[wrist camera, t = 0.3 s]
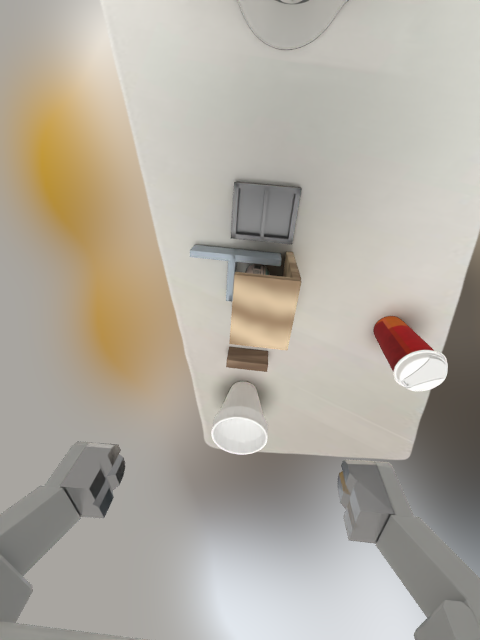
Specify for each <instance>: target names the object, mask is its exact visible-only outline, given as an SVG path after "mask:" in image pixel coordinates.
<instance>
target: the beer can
mask: <svg viewBox="0 0 480 640" xmlns="http://www.w3.org/2000/svg"><path fill="white" fill-rule="evenodd" d="M245 273H252V274H262V275H269V270H268V268H267V267H266V266H265V265H263V264H251V265H250V266H249V267H248V268H247V269H246V272H245Z"/></svg>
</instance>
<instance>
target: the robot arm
mask: <svg viewBox="0 0 480 640" xmlns="http://www.w3.org/2000/svg"><path fill="white" fill-rule="evenodd" d="M237 1H238V3H239V6H240V9H241V11H242V14H243V16H244V18H245V20H246V22H247V24H248V26H249V27H250V29H251V30H252V31H253V33H254V34H255V35H256V36H257V37H258V38H259V39H260V40H262V41H263V42H264V43H266V44H268V45H269V46H272V47H274V48H278V49H295V48H299V47H302V46H304V45H306V44H308V43H310V42H311V41H313V40H314V39H316V38H317V37H318V36H319V35H320V34H321V33H322V32H323V31H324V30H325V29H326V28H327V27H328V26H329V24H330V23H331V22H332V20H333V19H334V17H335V16H336V14H337V13H338V11H339V10H340V8H341V7H342V6H343V5H344V4H345V3H346V2H347V1H348V0H237ZM120 451H121V449H120V447H119V445H117V444H104V443H92V442H76V443H75V444H74V445H73V446H72V447H71V448H70V450H69V451H68V453H67V454H66V455H65V457H64V458H63V460H62V461H61V463H60V464H59V465H58V467H57V468H56V470H55V471H54V473H53V474H52V475H51V477H50V478H49V480H48V481H47V483H46V484H45V486H39V487H38V488H37V489H35V490H34V491H32V492H31V493H29V494H28V495H27V496H25V497H24V498H22V499H21V500H20V501H18V502H17V503H15V504H14V505H13V506H11V507H10V508H8V509H7V510H6V511H4V512H3V513H1V514H0V640H145V639H138V638H130V637H122V636H114V635H106V634H98V633H89V632H82V631H74V630H66V629H59V628H50V627H43V626H35V625H27V624H19V623H16V621H17V619H18V617H19V616H20V614H21V612H22V610H23V608H24V606H25V604H26V603H27V601H28V599H29V597H30V595H31V593H32V591H33V589H32V585H31V584H30V583H29V582H28V581H27V580H26V579H25V578H24V577H23V576H24V575H25V574H26V573H27V571H29V570H30V569H31V568H32V567H33V566H34V565H35V563H37V562H38V560H40V559H41V558H42V557H43V556H44V555H45V554H46V553H47V552H48V550H50V548H52V547H53V546H54V545H55V544H56V543H57V542H58V541H59V540H60V539H61V538H62V537H63V536H64V535H65V534H66V533H67V532H68V530H69V529H71V528H72V527H73V526H74V524H76V523H77V522H78V521H79V520H80V517H95V518H104V517H105V515H106V513H107V511H108V509H109V507H110V504H111V502H112V500H113V490H114V489H115V488H116V487H118V486H119V485H120V483H121V480H122V478H123V475H124V471H125V461H124V458H123V457H122V456H121V455H119V453H120ZM341 467H342V472H340V473H339V475H338V494H339V499H340V503H341V504H342V505H343V506H344V508H345V509H346V511H345V514H344V521H345V526H346V530H347V535H348V539H349V540H351V541H360V542H368V543H375V544H376V546H377V548H378V549H379V550H380V552H381V553H382V555H383V556H384V558H385V559H386V560H387V562H388V563H389V565H390V566H391V567H392V569H393V570H394V572H395V573H396V574H397V576H398V577H399V579H400V580H401V581H402V583H403V584H404V586H405V587H406V589H407V590H408V591H409V593H410V594H411V596H412V597H413V598H414V600H415V601H416V603H417V604H418V605H419V607H420V608H421V610H422V611H423V612H424V614H425V615H426V617H427V619H426V620H425V621H424V622H423V623H422V624H421V625H420V626H419V627H418V628H417V629H416V631H415V633H414V637H415V640H480V578H479V577H478V576H477V575H476V574H475V573H474V572H473V571H472V570H471V569H470V568H469V567H468V566H467V565H466V564H465V563H464V562H463V561H462V560H461V559H460V558H459V557H458V556H457V555H456V554H455V553H454V552H453V551H452V550H451V549H450V548H449V547H448V546H447V545H446V544H445V543H444V542H443V541H442V540H441V539H440V538H439V537H438V536H437V535H436V534H435V533H434V532H433V531H432V530H431V529H430V528H429V527H428V526H427V525H426V524H425V523H424V522H423V521H422V520H421V518H419V517H414V515H413V513H412V510H411V508H410V506H409V503H408V501H407V499H406V496H405V494H404V492H403V489H402V487H401V485H400V482H399V480H398V478H397V475H396V473H395V471H394V468H393V466H392V465H391V464H390V463H388V462H373V461H362V460H360V461H359V460H343V461H342V465H341Z"/></svg>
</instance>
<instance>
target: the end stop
mask: <svg viewBox="0 0 480 640" xmlns="http://www.w3.org/2000/svg"><path fill="white" fill-rule="evenodd" d="M226 367H229V368H238V369H247V370H255V371H264V372H267V368H268V351H262V350H253V349H245V348H236V347H229V352H228V357H227V365H226Z"/></svg>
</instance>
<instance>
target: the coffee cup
mask: <svg viewBox="0 0 480 640" xmlns="http://www.w3.org/2000/svg"><path fill="white" fill-rule="evenodd" d="M374 335H375V337H376V339H377V341H378V343H379V345H380V347H381V349H382V351H383V353H384V355H385V357H386V359H387V360H388V362H389V364H390V366H391V368H392V370H393V374H394V378H395V380H396V382H398V383H399V384H400V385H402V386H404V387H405V388H407V389H409V390H412V391H426V390H429V389H432V388H434V387H436V386H438V385H439V384H441V383H442V381H444V379H445V378H446V375H447V367H448V364H447V359H446V357H445V356H444V355H443V354H442V353H440V352H436V351H434V350H433V349H432V348H431V347H430V346H429V345H428V344H427V343H426V342H425V341H424V340H423V339H422V338H420V337H419V336H418V335H417V334H416V333H415V332H414V331H413V330H412V329H411V328H410V327H409V326H408V325H407V324H405V323H404V322H403V321H402V320H401V319H399V318H398V317H395V316H388V317H384V318H382V319H380V320H379V321H378V322H377V323H376V324H375V326H374Z"/></svg>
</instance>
